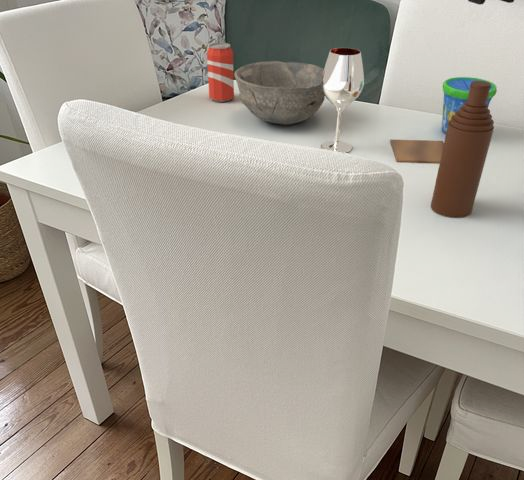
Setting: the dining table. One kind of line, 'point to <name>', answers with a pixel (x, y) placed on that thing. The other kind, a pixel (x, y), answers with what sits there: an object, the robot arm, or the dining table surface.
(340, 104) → the wineglass
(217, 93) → the beverage can
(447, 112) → the snack cup
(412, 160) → the coaster
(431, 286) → the dining table surface
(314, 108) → the bowl
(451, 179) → the bottle
